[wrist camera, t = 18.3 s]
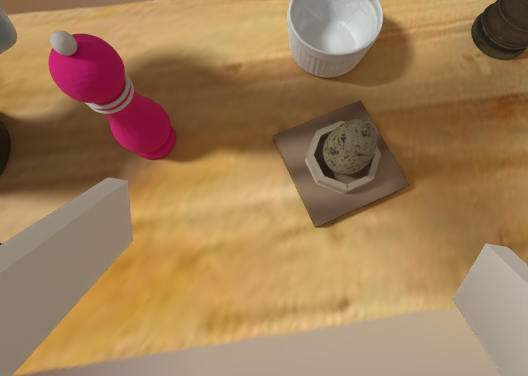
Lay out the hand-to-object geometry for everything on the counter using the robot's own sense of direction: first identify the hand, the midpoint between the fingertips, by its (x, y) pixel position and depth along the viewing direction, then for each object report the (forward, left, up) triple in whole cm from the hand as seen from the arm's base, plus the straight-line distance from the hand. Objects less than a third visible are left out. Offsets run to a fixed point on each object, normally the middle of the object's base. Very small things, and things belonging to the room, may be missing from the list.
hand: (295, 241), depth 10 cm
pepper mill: (-22, -9, -28) cm, 36 cm away
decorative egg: (-8, +14, -26) cm, 30 cm away
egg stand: (-8, +14, -27) cm, 31 cm away
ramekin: (-26, +21, -28) cm, 43 cm away
